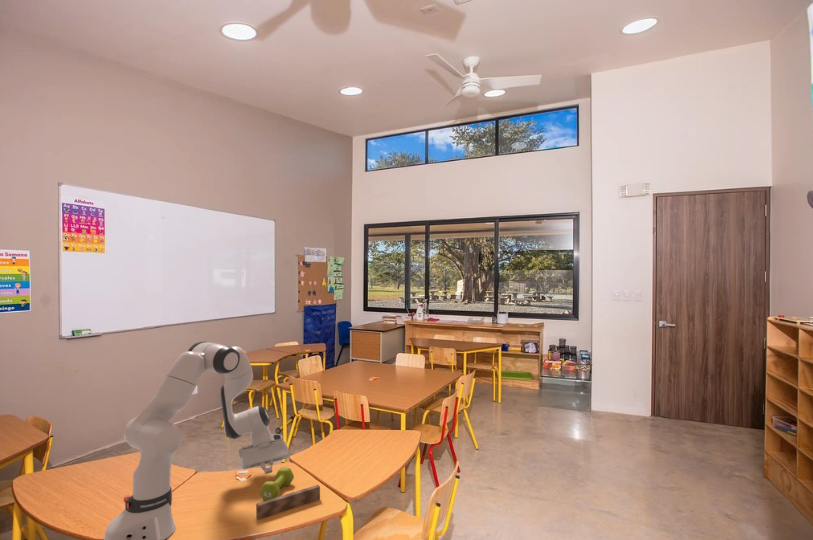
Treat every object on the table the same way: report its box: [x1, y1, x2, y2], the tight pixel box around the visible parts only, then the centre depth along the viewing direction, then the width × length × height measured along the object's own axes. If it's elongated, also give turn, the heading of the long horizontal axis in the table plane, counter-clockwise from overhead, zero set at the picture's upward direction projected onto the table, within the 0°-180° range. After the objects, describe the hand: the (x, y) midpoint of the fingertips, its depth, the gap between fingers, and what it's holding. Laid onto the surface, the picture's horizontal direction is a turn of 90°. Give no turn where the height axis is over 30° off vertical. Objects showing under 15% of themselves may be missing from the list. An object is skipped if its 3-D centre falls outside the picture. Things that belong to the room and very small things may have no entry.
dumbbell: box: [259, 467, 295, 501], centre depth 169 cm, size 16×8×7 cm, turn 170°
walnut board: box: [255, 484, 321, 521], centre depth 157 cm, size 24×2×5 cm, turn 125°
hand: (268, 472), depth 178 cm, fingers closed
